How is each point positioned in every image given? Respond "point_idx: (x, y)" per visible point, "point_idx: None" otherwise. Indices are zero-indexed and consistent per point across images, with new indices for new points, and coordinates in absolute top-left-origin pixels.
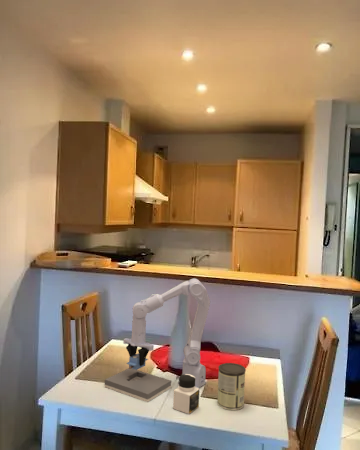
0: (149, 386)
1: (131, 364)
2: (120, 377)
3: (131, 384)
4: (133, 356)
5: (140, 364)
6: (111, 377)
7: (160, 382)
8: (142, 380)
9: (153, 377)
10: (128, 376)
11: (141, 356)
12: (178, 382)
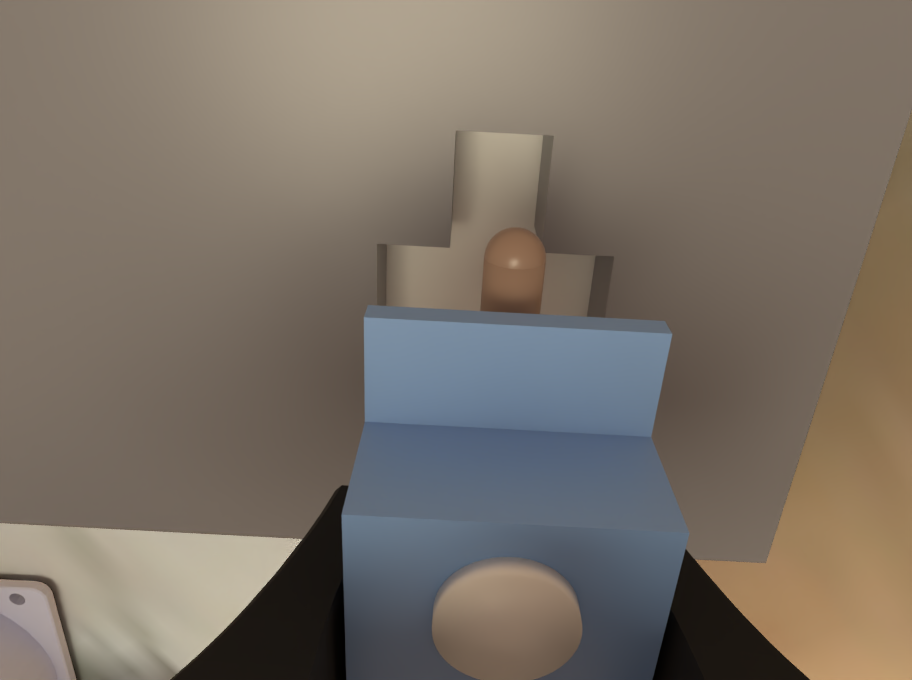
0: (4, 149)
1: (477, 322)
2: (712, 168)
3: (327, 14)
4: (566, 614)
5: (339, 499)
6: (889, 60)
7: (11, 389)
8: (288, 292)
9: (232, 475)
10: (606, 299)
11: (202, 671)
12: (33, 591)
